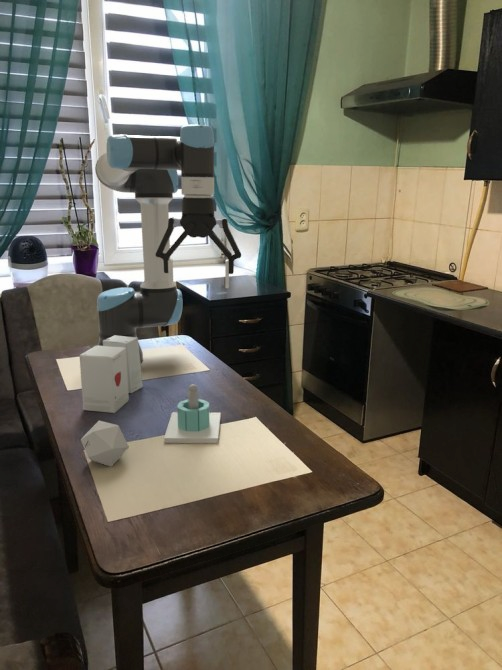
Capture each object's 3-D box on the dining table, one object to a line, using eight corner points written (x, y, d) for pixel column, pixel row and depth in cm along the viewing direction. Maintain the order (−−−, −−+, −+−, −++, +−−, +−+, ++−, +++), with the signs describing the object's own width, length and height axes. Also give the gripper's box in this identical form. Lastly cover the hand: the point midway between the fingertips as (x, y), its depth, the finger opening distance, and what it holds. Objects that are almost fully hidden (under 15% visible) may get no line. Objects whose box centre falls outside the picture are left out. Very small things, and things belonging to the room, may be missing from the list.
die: (91, 452, 118) (67, 430, 110) (126, 428, 119) (105, 405, 112) (104, 481, 112) (80, 459, 105) (141, 456, 114) (119, 432, 106)
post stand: (172, 416, 134) (171, 374, 131) (220, 417, 134) (220, 374, 131) (164, 442, 121) (162, 395, 118) (217, 443, 121) (217, 396, 118)
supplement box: (115, 414, 136) (111, 357, 132) (82, 410, 137) (77, 354, 133) (130, 400, 144) (127, 346, 140) (99, 397, 146) (95, 344, 142)
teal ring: (180, 418, 131) (179, 398, 129) (210, 418, 131) (209, 399, 129) (176, 431, 124) (176, 411, 122) (208, 431, 124) (207, 411, 123)
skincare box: (143, 387, 153) (140, 337, 149) (130, 394, 148) (127, 342, 144) (118, 383, 157) (115, 333, 153) (105, 390, 151) (102, 339, 147)
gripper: (140, 196, 121) (144, 289, 127) (251, 198, 121) (250, 290, 127) (147, 195, 128) (150, 283, 134) (251, 196, 128) (250, 284, 134)
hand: (199, 287), depth 131 cm, fingers open, 13 cm apart
